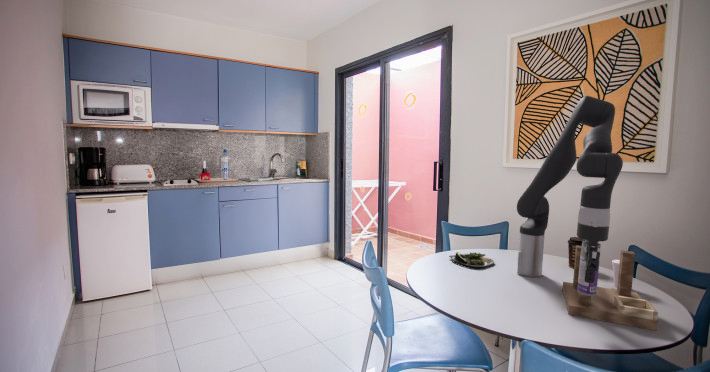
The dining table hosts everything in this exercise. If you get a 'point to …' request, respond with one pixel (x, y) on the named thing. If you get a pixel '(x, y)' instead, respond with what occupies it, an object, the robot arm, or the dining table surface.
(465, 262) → the salad plate
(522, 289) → the dining table surface
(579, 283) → the container
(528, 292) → the dining table surface
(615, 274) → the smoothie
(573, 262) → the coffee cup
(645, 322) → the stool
